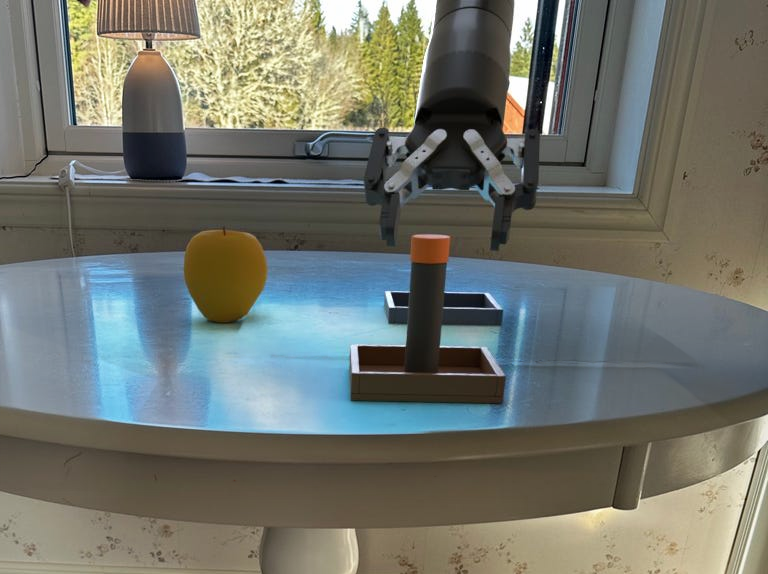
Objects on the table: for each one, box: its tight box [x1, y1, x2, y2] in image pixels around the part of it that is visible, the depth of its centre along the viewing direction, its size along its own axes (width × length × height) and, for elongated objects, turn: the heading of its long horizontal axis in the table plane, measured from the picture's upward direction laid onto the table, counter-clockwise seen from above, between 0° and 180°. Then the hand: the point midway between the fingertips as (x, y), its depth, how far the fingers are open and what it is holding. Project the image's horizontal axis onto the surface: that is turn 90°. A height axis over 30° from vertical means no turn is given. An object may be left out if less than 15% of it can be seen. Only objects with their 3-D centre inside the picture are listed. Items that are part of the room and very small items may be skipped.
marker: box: [404, 233, 451, 373], centre depth 72 cm, size 3×3×10 cm
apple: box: [183, 226, 268, 324], centre depth 96 cm, size 8×8×9 cm
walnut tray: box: [348, 343, 507, 404], centre depth 74 cm, size 11×10×2 cm
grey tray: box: [383, 290, 504, 327], centre depth 99 cm, size 11×10×2 cm
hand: (442, 242), depth 78 cm, fingers open, 8 cm apart
